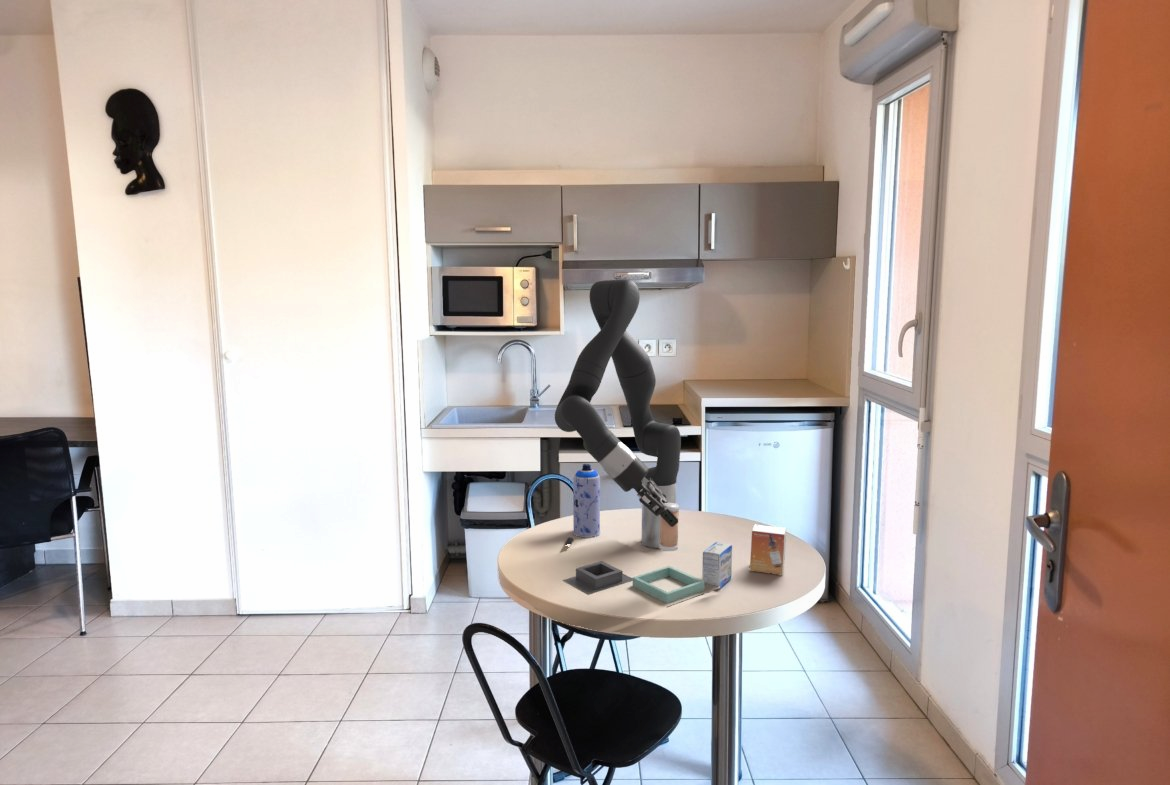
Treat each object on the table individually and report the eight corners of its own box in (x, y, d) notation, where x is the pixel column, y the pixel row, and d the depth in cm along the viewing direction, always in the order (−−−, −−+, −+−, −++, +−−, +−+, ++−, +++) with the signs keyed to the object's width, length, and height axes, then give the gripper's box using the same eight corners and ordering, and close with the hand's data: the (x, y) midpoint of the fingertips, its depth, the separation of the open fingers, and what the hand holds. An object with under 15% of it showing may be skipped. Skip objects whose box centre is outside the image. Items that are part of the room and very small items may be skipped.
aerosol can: (570, 529, 208) (569, 462, 205) (596, 527, 210) (596, 460, 207) (576, 538, 201) (576, 468, 198) (603, 536, 203) (603, 467, 200)
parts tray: (668, 577, 174) (669, 565, 174) (704, 594, 165) (704, 581, 165) (632, 589, 167) (632, 577, 167) (666, 607, 158) (667, 594, 158)
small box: (749, 571, 178) (750, 530, 177) (752, 563, 183) (753, 523, 182) (782, 576, 176) (784, 534, 174) (784, 567, 181) (786, 527, 179)
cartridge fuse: (659, 544, 167) (660, 502, 165) (677, 545, 166) (679, 503, 165) (658, 550, 163) (659, 507, 161) (677, 551, 162) (678, 508, 161)
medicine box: (719, 590, 167) (720, 554, 166) (701, 586, 169) (702, 551, 168) (731, 579, 174) (732, 544, 172) (714, 575, 176) (715, 540, 175)
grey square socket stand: (608, 570, 179) (608, 556, 178) (635, 583, 171) (635, 569, 170) (562, 584, 170) (562, 570, 170) (588, 598, 162) (588, 584, 162)
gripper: (632, 462, 156) (688, 519, 156) (637, 448, 170) (688, 500, 170) (608, 485, 157) (662, 542, 157) (614, 469, 171) (664, 521, 171)
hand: (675, 520), depth 163 cm, fingers closed on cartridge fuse, 4 cm apart
